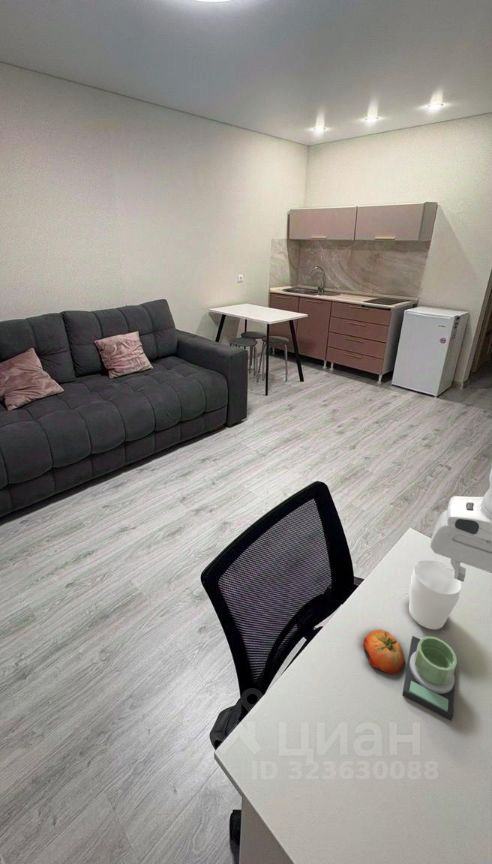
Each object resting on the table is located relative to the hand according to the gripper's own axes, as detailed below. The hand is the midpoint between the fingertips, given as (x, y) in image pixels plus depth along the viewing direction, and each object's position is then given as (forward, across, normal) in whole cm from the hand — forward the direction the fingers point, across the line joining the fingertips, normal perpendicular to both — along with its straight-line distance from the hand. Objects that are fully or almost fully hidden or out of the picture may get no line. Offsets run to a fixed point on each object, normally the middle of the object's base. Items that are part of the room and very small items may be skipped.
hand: (490, 589), depth 69 cm
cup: (+22, +8, -9) cm, 25 cm away
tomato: (+22, +14, +5) cm, 26 cm away
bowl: (+18, +5, +5) cm, 20 cm away
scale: (+22, +6, +5) cm, 23 cm away
